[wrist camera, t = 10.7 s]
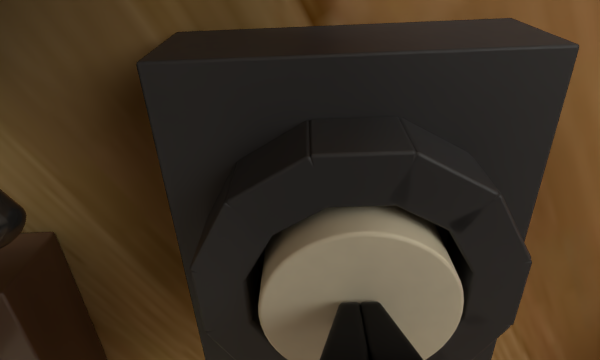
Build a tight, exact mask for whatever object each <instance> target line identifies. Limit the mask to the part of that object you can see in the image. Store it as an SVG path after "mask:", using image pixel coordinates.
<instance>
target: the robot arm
mask: <svg viewBox="0 0 600 360" xmlns="http://www.w3.org/2000/svg"><path fill="white" fill-rule="evenodd" d="M320 360H423V359H422V357H421V356H420V355H419V353H418V352H417V351H416V349H415V348H414V347H413V345H412V344H411V343H410V341H409V340H408V339H407V337H406V336H405V335H404V334H403V332H402V331H401V330H400V328H399V327H398V326H397V324H396V323H395V322H394V320H393V319H392V318H391V316H390V315H389V314H388V312H387V311H386V310H385V309H384V307H383V306H382V305H381V303H379V302H377V301H371V302H361V303H360V305H359V303H358V302H341V303H340V304H339V306H338V309H337V312H336V315H335V318H334V320H333V323H332V326H331V329H330V332H329V334H328V337H327V340H326V343H325V346H324V349H323V351H322V354H321V357H320Z"/></svg>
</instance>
